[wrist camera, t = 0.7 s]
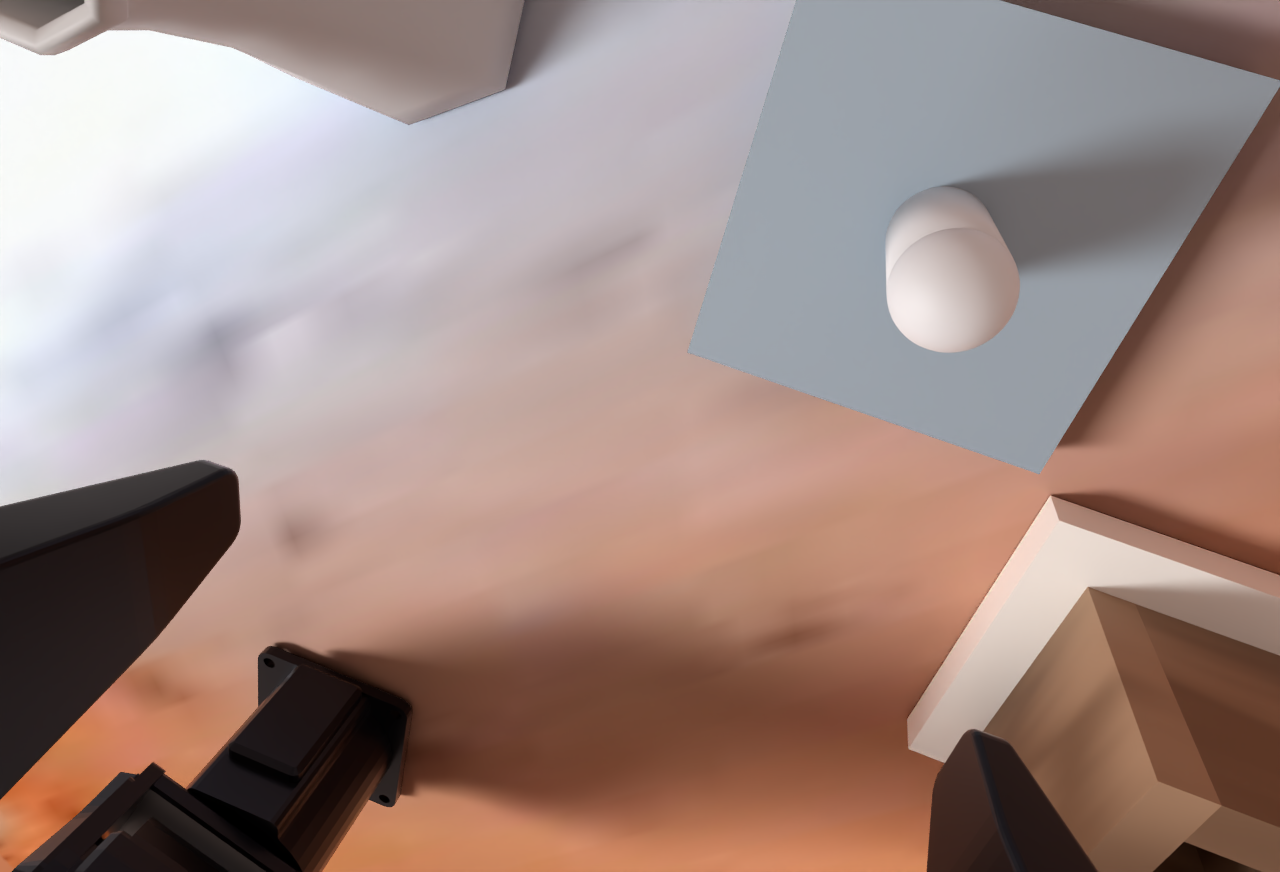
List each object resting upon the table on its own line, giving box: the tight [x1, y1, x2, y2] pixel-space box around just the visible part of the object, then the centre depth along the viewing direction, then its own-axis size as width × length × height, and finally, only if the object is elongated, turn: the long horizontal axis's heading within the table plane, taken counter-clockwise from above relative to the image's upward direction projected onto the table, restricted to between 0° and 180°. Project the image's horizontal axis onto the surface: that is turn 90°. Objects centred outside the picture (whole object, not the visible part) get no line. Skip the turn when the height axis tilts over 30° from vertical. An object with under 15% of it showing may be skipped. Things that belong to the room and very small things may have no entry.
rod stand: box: [907, 495, 1280, 763], centre depth 21 cm, size 9×9×4 cm
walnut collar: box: [983, 587, 1280, 872], centre depth 19 cm, size 6×6×6 cm
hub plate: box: [688, 0, 1280, 474], centre depth 16 cm, size 9×9×6 cm
